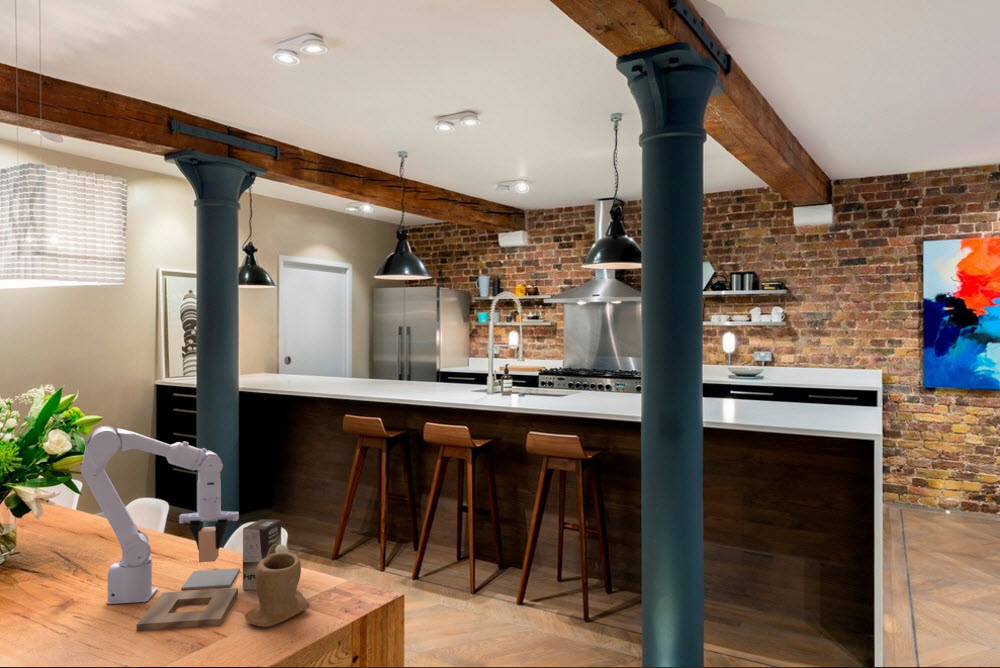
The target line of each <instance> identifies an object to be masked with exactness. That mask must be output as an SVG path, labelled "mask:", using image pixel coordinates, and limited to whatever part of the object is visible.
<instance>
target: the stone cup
mask: <svg viewBox="0 0 1000 668" xmlns="http://www.w3.org/2000/svg"><path fill="white" fill-rule="evenodd" d="M301 575H302V565H301V560H300V559H299V556H297V555H296V554H295V553H292V552H289V553H288V552H279V553H273V554H271V555H269V556H267V557H266V558H264V559H263V560H261V561H260V562H259V563H258V565H257V568H256V574H255V587H256V590H255V591H256V594H257V596H258V601H259V605H258V606H255V607H253V608H251V609H250V610H247V612H245V614H244V620H245V621H246V622H247V623H249V624H250V625H253V626H256V627H264V628H265V627H271V626H274V625H277V624H279V623H282V622H284V621H286V620H288V619H290V618H292V617H294V616H296V615H298V614H299V613H302V612H303V611H305V610H308V609H309V608H310V602H309V601H308V600H307V599H306V597H305V596H304V594H303V592H302V591H300V590H297V589H298V586H299V582H300V580H301Z"/></svg>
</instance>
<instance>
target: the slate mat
mask: <svg viewBox="0 0 1000 668" xmlns="http://www.w3.org/2000/svg"><path fill="white" fill-rule="evenodd" d="M240 571H241V568H239V567H238V568H222V569H219V568H218V569H202V570H194V571H193V572H192V573H191V575H190V576H189V577H188V578H187V579H186V581H185V582H184V583H183V585H182V586H181V591H190V590H201V589H200V588H205V589H223V588H231V586H232V584H233V583H234V581H235V579H236V578H237V576H238V574H239V573H240Z"/></svg>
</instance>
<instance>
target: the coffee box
mask: <svg viewBox="0 0 1000 668" xmlns="http://www.w3.org/2000/svg"><path fill="white" fill-rule="evenodd" d="M278 545H282V519H281V520H280V519H265V518H264V519H259V520H256V521H255V522H253V523H251V524H249V525H247V526H245V527H243V528H242V589H243V590H250V591H256V587H255V574H256V568H257V565H258V563H259V562H260V561H261V560H263V559H264V558H266V557H267V556H269V555H271V554H273V553H276V552H275V549H276V547H277V546H278Z"/></svg>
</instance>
